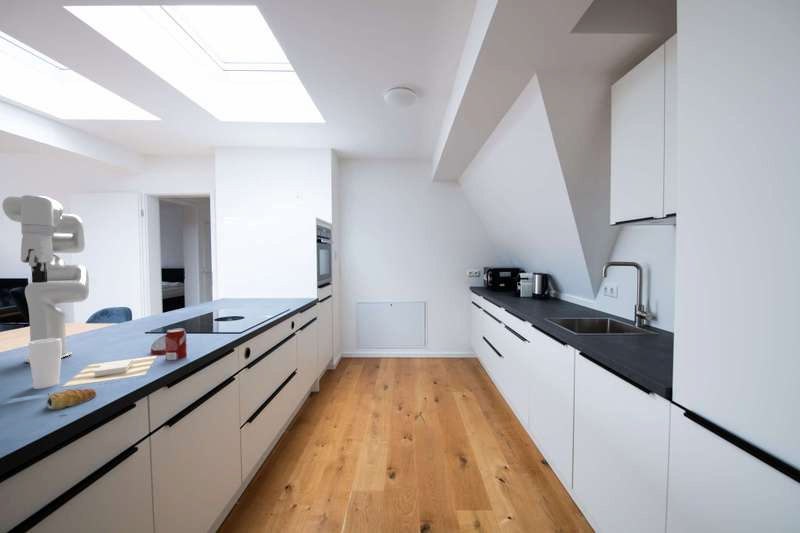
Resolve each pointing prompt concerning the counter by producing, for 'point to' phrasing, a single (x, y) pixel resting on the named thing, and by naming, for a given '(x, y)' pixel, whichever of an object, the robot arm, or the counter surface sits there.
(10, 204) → the robot arm
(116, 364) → the block
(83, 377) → the board
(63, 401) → the pastry
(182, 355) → the soda can
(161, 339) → the canned food
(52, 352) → the drinking glass
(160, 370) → the counter surface
